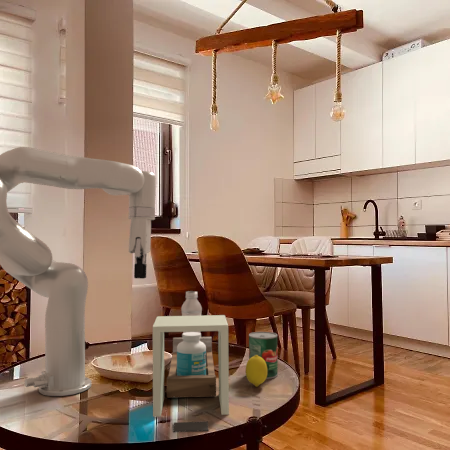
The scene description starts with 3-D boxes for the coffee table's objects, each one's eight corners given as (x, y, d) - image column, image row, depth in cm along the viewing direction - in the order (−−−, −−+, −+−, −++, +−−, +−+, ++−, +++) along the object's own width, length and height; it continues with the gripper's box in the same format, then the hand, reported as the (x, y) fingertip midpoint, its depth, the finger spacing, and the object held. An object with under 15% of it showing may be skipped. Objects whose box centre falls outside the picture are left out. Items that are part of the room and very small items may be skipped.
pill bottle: (195, 394, 114) (194, 338, 114) (170, 388, 117) (170, 334, 118) (211, 385, 120) (211, 332, 120) (188, 380, 124) (187, 329, 124)
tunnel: (228, 414, 101) (228, 325, 101) (153, 416, 100) (152, 326, 100) (225, 394, 113) (224, 315, 113) (157, 396, 112) (157, 316, 112)
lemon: (266, 390, 115) (265, 358, 116) (244, 389, 117) (243, 357, 117) (268, 383, 121) (268, 352, 121) (247, 382, 122) (247, 351, 122)
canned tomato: (252, 369, 133) (252, 330, 133) (279, 371, 131) (279, 332, 131) (246, 378, 126) (245, 337, 126) (275, 380, 123) (274, 338, 124)
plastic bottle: (202, 357, 147) (201, 293, 147) (180, 357, 147) (180, 293, 147) (203, 351, 153) (202, 290, 153) (182, 351, 153) (182, 290, 153)
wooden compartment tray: (216, 396, 111) (215, 367, 111) (166, 397, 110) (166, 368, 110) (211, 359, 142) (211, 336, 143) (173, 360, 142) (173, 337, 142)
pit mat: (208, 431, 92) (208, 429, 92) (172, 432, 92) (172, 430, 92) (207, 422, 96) (207, 421, 96) (173, 423, 96) (173, 422, 96)
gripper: (133, 215, 142) (131, 276, 142) (123, 212, 128) (121, 280, 127) (158, 216, 143) (156, 276, 142) (151, 213, 128) (149, 280, 127)
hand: (140, 278), depth 134 cm, fingers closed
